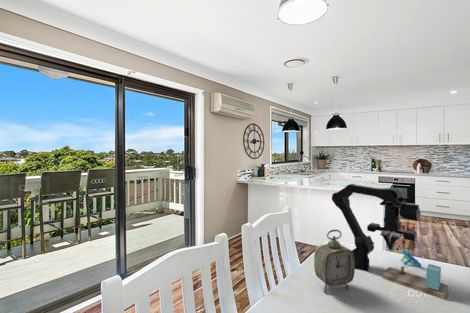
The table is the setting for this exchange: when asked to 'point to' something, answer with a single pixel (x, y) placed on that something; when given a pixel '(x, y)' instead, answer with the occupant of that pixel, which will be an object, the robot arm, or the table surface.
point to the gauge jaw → (433, 276)
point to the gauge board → (414, 282)
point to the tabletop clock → (334, 263)
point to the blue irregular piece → (409, 258)
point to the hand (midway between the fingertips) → (390, 249)
